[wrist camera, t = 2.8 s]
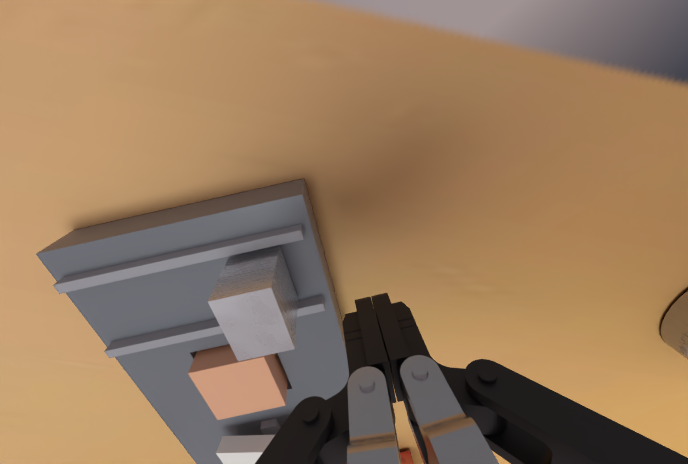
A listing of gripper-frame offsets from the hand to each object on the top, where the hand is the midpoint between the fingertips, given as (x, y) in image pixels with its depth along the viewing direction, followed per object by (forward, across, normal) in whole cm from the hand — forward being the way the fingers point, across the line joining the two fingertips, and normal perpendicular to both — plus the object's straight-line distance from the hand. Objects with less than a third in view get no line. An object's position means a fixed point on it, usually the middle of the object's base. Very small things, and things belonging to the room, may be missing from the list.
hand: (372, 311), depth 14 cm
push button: (+7, +10, +8) cm, 14 cm away
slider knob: (+5, +6, 0) cm, 8 cm away
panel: (+8, +10, +8) cm, 15 cm away
